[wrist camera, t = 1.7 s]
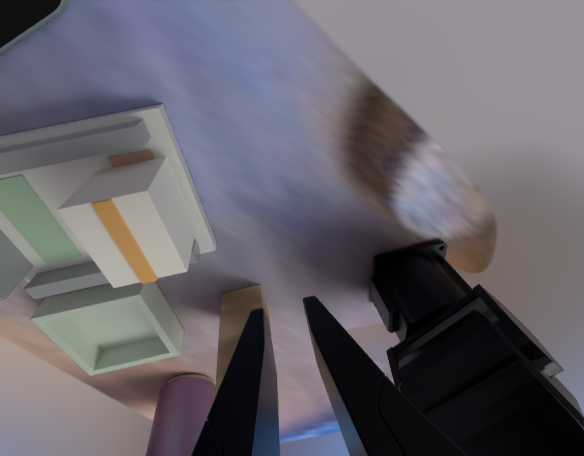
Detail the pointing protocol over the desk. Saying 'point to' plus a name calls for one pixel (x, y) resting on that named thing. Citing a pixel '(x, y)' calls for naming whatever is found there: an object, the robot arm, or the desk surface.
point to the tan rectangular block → (235, 323)
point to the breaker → (133, 222)
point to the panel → (64, 182)
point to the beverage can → (180, 415)
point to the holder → (111, 326)
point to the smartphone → (25, 18)
